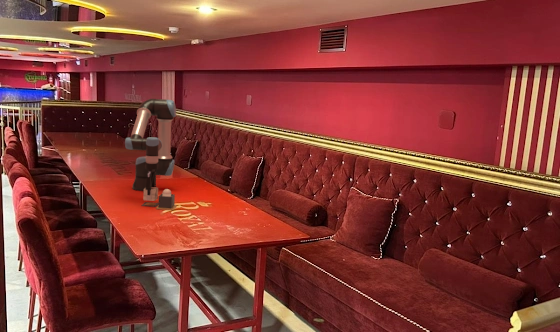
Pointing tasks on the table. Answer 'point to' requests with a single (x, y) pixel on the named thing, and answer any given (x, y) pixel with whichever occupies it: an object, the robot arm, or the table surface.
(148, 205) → the pad
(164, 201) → the button box
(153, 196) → the die
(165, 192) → the dome plunger
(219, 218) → the table surface
